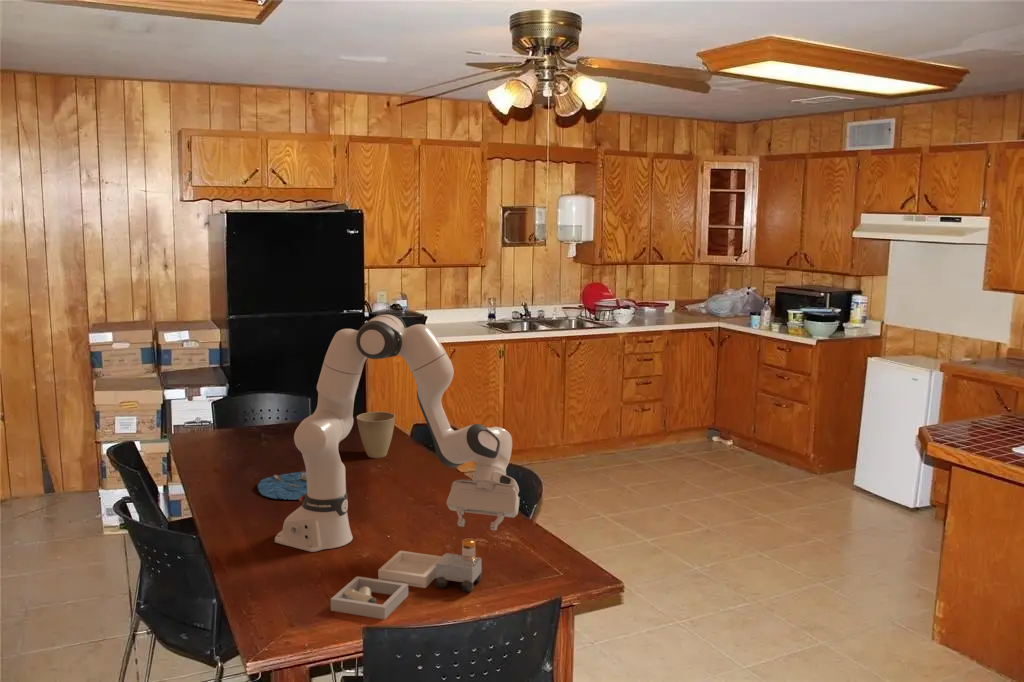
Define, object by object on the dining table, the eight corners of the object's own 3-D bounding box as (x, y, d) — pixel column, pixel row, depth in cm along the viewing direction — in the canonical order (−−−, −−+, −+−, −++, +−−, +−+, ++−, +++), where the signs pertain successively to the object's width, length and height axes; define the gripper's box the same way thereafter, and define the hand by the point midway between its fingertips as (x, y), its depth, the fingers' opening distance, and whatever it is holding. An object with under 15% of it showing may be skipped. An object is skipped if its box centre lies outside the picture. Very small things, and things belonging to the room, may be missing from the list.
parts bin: (330, 610, 204) (330, 598, 203) (357, 587, 216) (356, 576, 216) (384, 619, 199) (384, 607, 199) (408, 595, 212) (408, 584, 212)
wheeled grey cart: (435, 588, 216) (434, 564, 215) (455, 566, 230) (455, 543, 229) (471, 593, 213) (471, 569, 212) (489, 570, 227) (489, 548, 226)
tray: (378, 580, 220) (378, 570, 220) (400, 560, 233) (399, 550, 232) (425, 588, 216) (425, 577, 216) (445, 567, 229) (445, 556, 228)
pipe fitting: (363, 597, 212) (342, 604, 207) (363, 582, 212) (343, 589, 207) (385, 606, 208) (365, 614, 202) (386, 590, 207) (366, 598, 202)
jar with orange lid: (460, 574, 224) (460, 542, 223) (464, 569, 228) (464, 537, 226) (472, 576, 223) (472, 544, 222) (477, 570, 227) (477, 539, 225)
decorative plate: (355, 479, 308) (355, 465, 307) (329, 506, 278) (329, 491, 278) (276, 472, 310) (277, 459, 310) (243, 499, 281) (243, 484, 280)
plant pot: (355, 451, 336) (354, 413, 334) (392, 448, 341) (391, 410, 338) (360, 462, 322) (359, 422, 320) (398, 459, 327) (398, 419, 324)
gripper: (450, 473, 238) (438, 518, 230) (520, 480, 232) (509, 526, 224) (456, 483, 243) (444, 527, 235) (524, 490, 237) (514, 536, 229)
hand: (476, 527), depth 229 cm, fingers open, 8 cm apart
